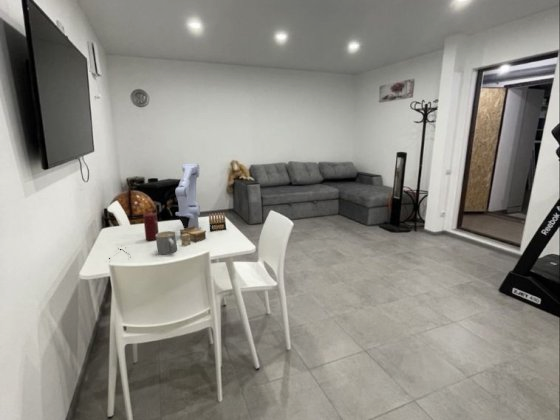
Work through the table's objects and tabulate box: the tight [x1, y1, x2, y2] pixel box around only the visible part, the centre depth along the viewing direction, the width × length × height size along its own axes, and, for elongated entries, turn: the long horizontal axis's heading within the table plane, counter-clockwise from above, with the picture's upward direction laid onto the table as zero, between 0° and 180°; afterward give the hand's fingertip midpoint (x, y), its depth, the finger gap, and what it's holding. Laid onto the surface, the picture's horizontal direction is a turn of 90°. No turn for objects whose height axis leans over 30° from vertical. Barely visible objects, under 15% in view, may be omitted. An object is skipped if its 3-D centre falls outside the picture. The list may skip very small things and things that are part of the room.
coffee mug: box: [155, 230, 178, 256], centre depth 160 cm, size 13×10×10 cm
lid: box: [179, 226, 207, 236], centre depth 180 cm, size 15×8×3 cm, turn 56°
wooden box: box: [179, 231, 207, 243], centre depth 182 cm, size 14×8×4 cm, turn 56°
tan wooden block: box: [180, 233, 192, 247], centre depth 171 cm, size 4×4×6 cm
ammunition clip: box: [208, 211, 227, 233], centre depth 195 cm, size 11×2×12 cm, turn 108°
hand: (185, 227), depth 184 cm, fingers closed
